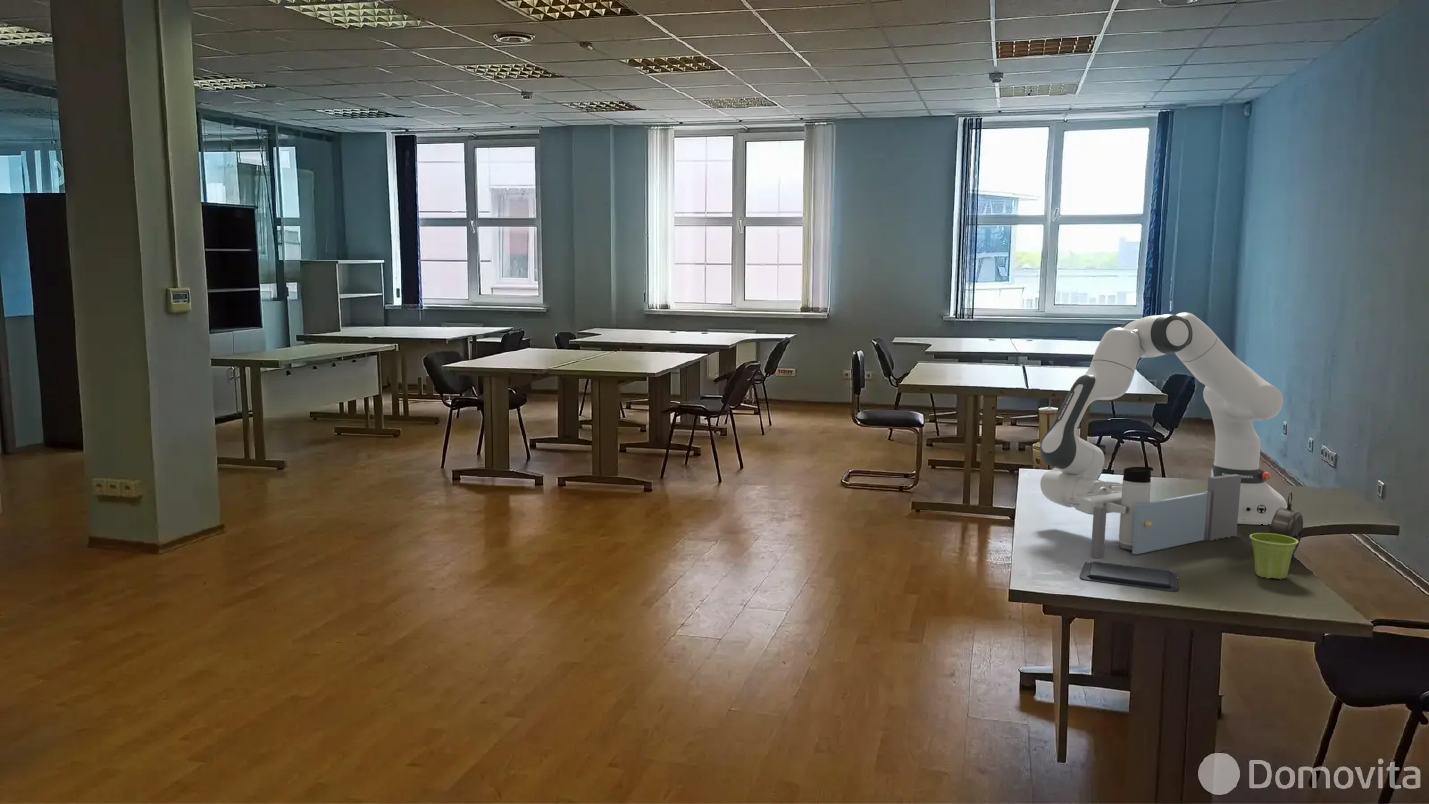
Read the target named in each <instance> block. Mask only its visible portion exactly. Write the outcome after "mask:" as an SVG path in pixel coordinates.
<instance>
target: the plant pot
mask: <svg viewBox="0 0 1429 804" xmlns="http://www.w3.org/2000/svg"><path fill="white" fill-rule="evenodd" d="M1249 539H1251V544H1252V549H1253V558H1254V572H1255V574H1256V576H1258V577H1261V578H1263V577H1268V578H1267V579H1275V578H1284V577H1288V573H1289V570H1290V565H1291V561H1292V558H1293V557H1292V554H1293V550H1294V549H1295V546H1296V544H1298V540H1297V539H1295V538H1292V537H1289V536H1285V535H1279V534H1271V533H1269V532H1256V533H1255V532H1254V533H1251V534H1249Z"/></svg>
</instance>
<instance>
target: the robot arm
mask: <svg viewBox="0 0 1429 804" xmlns="http://www.w3.org/2000/svg"><path fill="white" fill-rule="evenodd" d="M1173 354H1174V355H1175V356H1176V357H1177V359H1179V360H1180V362H1181V363H1182V364H1183V365H1184V366H1185V367H1186V369H1187V370H1188V371H1190V374H1191V375H1193V377H1195V379H1196V380H1197V381H1199V383H1201V384H1203V385H1205V386H1204V388H1203V392H1202V393H1203V394H1202V395H1203V397H1202V398H1203V400H1204V402H1205V404H1206V405H1207V407H1208V409H1209V411H1210V414H1211V415H1210V416H1211V418H1212V423H1213V427H1214V435H1215V441H1214V442H1215V443H1214V445H1215V447H1214V460H1213V464H1212V466H1211V469H1210V470H1211V472H1210V477H1216V476H1225V475H1233V474H1237V475H1241V485H1240V498H1239V510H1238V522H1237V525H1238V524H1239V525H1257V526H1258V525H1259V526H1260V525H1261V524H1263V525H1264V526H1269V525H1268V524H1271V522H1272V519H1273V516H1274V514H1275V513H1276V511H1277V510H1278V509H1279V508H1280V507H1282V508H1287V506H1288V505H1287V504H1288V503H1287V501H1286V499H1285V498H1284V496H1282V495H1281V493H1279V492H1278V491H1277V490H1275V489H1274V488H1273V487H1272V486H1270V485H1269V484H1268V483H1267V481H1269V480H1270V479H1271V478H1272V475H1271V474H1270V472H1268V471H1265V470H1264V469H1262V468H1260V458H1261V448H1262V447H1261V445H1262V444H1261V443H1262V441H1261V438H1260V436H1259V435H1258V434H1257V432H1256V429H1255V427H1254V422H1253V421H1256V422H1257V421H1268V420H1271V419H1274V418H1275V417H1277V415H1279V414H1280V412H1281V411H1282V408H1283V405H1284V398H1283V394H1282V392H1281V390H1280V389H1279V388H1278V387H1276V386H1275V385H1273V384H1272V383H1270V382H1268V381H1267V380H1265V379H1264V378H1263V377H1261V376H1260V375H1259V374H1258V373H1257V372H1255V370H1253V369H1252V368H1251V367H1250V366H1248V365H1247V364H1245V363H1244V362H1243V361H1242V360H1240V359H1239V358H1238V357H1237V356H1236V355H1234V353H1233V352H1232V350H1230V349H1229V348H1228V347H1227V346H1226V345H1225V343H1224V342H1223V341H1222V340H1221V338H1219V336H1217V334H1216V333H1215V332H1214V330H1212V329H1211V328H1210V327H1209V326H1208V325H1207V324H1206V323H1205V322H1204V321H1203V320H1201V319H1200V318H1198V317H1197V316H1196V315H1195V314H1193V313H1192V312H1179V313H1176V314H1173V313H1172V314H1171V313H1166V314H1158V315H1157V314H1156V315H1148V316H1145V317H1142V318H1138V319H1132V320H1129V321H1126V322H1125V323H1123V324H1121V326H1120V327H1113V328H1110V329H1109V330H1107V331H1106V332H1105V333H1104V335H1103V336H1102V338H1101V339H1100V341H1099V343H1098V344H1097V347H1096V349H1095V351H1094V354H1093V357H1092V360H1091V362H1090V365H1089V367H1088V369H1087V370H1086V372H1085V373H1084V374H1083V375H1082V376H1079V377H1078V378H1077V379H1076V380H1075V381H1074V383H1073V384H1072V385H1071V387H1070V390H1069V391H1068V393H1067V395H1066V397H1065V398H1064V401H1063V403H1062V405H1061V406H1060V409H1059V411H1058V413H1057V415H1056V416H1055V419H1054V421H1053V423H1052V425H1051V427H1050V428H1049V429H1048V430H1047V431H1046V433H1045V434H1044V435H1043V437H1042V439H1041V442H1040V445H1039V447H1040V448H1039V453H1040V454H1039V455H1040V457H1041V459H1042V462H1044V463H1045V464H1046V465H1048V466H1049V467H1053V468H1052V469H1051V470H1048V471H1046V472H1045V473H1044V474H1042V476H1041V478H1040V481H1039V482H1040V483H1039V485H1040V489H1041V493H1042V495H1043V496H1044V497H1045V498H1046V499H1047V500H1049V501H1050V502H1052V503H1054V504H1057V505H1060V506H1062V507H1065V508H1074V510H1076V511H1079V512H1081V513H1083V514H1087V515H1091V516H1093V512H1094V507H1096V506H1102V507H1105V508H1107V511H1106V514H1111V513H1118V514H1121V513H1122V514H1126V513H1129V507H1128V506H1125V505H1121V499H1122V484H1123V482H1120V481H1119V482H1118V481H1104V480H1100V479H1099V478H1100V477H1101V475H1102V473H1103V472H1104V471H1103V470H1104V468H1105V466H1106V465H1105V464H1106V456H1105V453H1104V451H1103V449H1101V447H1098V446H1097V445H1095V444H1093V443H1092V442H1089V441H1087V440H1085V439H1083V438H1081V437H1080V436H1078V435H1077V429H1078V427H1079V425H1080V423H1081V421H1082V419H1083V417H1084V414H1085V413H1086V410H1087V409H1088V407H1089V405H1090V404H1092V403H1093V402H1095V401H1110V400H1112V401H1113V400H1116V399H1118V398H1120V397H1123V395H1125V394H1126V393H1127V391H1128V390H1129V388H1130V387H1131V385H1132V381H1133V378H1134V375H1135V372H1136V369H1137V365H1138V361H1139V360H1140V358H1144V359H1145V358H1146V359H1147V358H1150V359H1151V358H1156V357H1160V356H1165V355H1173ZM1149 502H1151V500H1150V501H1149ZM1263 525H1261V526H1263Z"/></svg>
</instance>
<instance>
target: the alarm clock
mask: <svg viewBox="0 0 1429 804" xmlns="http://www.w3.org/2000/svg"><path fill="white" fill-rule="evenodd" d="M1292 502H1293V492H1292V491H1291V490H1290V491H1289V492H1288V495H1287V503H1286V504H1287V508H1282V507H1280V508H1279V509H1278V510H1277V511H1276V513H1275V514H1274V516H1273V519H1272V522H1271V525H1269V526H1270V527H1269V531H1268V533H1271V534H1279V535H1285V536H1289V537H1292V538H1295V539H1297V540H1298V544H1296V546H1295V549H1294V550H1293V554H1292V557H1291V558H1292V559H1293V560H1294V561H1295V560H1296V558H1295V552H1296V551H1297V549H1298V547H1299V545H1300V543H1301V539H1302V535H1303V534H1304V531H1303V528H1304V526H1303V525H1304V517H1303V515H1302V513H1301V512H1300V511H1299V510H1297V509H1292V506H1293V504H1292ZM1293 557H1294V558H1295V559H1294V558H1293Z"/></svg>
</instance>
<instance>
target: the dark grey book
mask: <svg viewBox="0 0 1429 804" xmlns="http://www.w3.org/2000/svg"><path fill="white" fill-rule="evenodd" d="M1177 574H1178V573H1177V572H1173V571H1171V570H1167V569H1159V568H1150V567H1143V566H1136V565H1126V564H1116V563H1109V562H1103V561H1093V562H1092V561H1089V562H1088V561H1086V562H1084V565H1083V566H1082V569H1081V571H1080V574H1079V578H1080V579H1079V580H1081V581H1087V582H1093V583H1094V582H1095V583H1099V584H1108V585H1117V586H1125V587H1132V588H1133V587H1134V588H1138V589H1139V588H1141V589H1146V590H1147V589H1148V590H1156V591H1162V592H1163V591H1164V592H1170V593H1176V592H1179V589H1180V588H1179V576H1178V575H1177ZM1177 577H1178V578H1177Z"/></svg>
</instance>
